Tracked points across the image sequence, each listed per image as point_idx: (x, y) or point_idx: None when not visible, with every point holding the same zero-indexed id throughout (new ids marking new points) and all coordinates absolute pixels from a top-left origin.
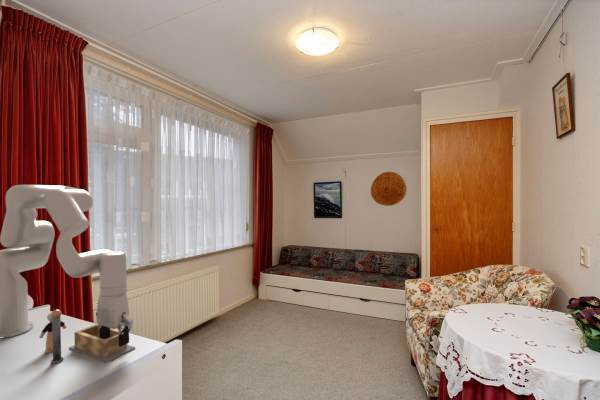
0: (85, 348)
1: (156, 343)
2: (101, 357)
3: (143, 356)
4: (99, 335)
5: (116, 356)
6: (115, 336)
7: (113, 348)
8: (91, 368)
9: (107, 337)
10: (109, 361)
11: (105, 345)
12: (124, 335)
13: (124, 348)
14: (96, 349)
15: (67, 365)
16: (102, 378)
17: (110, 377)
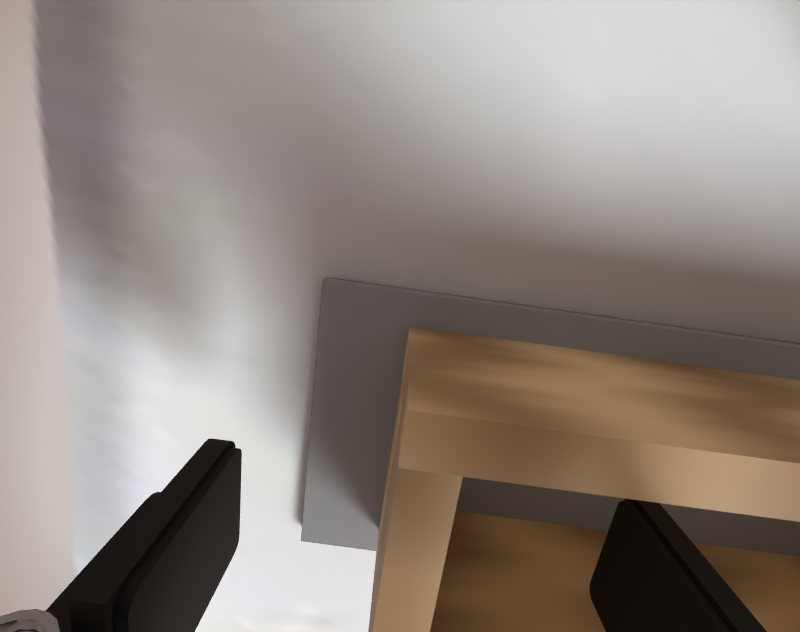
0: (755, 381)
1: (212, 626)
2: (446, 323)
3: (118, 456)
4: (700, 553)
5: (316, 379)
6: (406, 587)
7: (394, 442)
8: (385, 154)
9: (597, 567)
10: (323, 305)
11: (404, 397)
12: (58, 614)
13: (374, 502)
14: (563, 367)
15: (702, 112)
16: (97, 46)
17: (42, 90)
